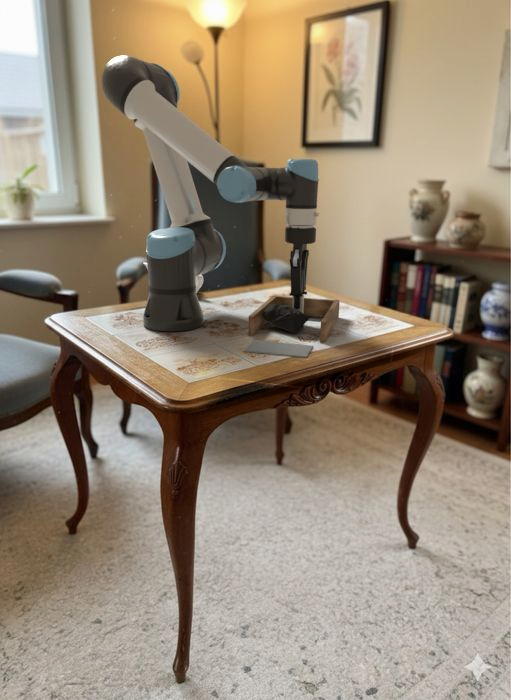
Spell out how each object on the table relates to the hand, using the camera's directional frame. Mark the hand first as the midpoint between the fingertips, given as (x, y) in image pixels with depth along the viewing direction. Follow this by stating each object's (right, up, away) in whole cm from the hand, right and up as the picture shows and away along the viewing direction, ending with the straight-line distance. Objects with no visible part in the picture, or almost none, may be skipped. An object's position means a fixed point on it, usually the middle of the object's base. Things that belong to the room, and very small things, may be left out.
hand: (297, 320), depth 138 cm
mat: (-6, -7, -19) cm, 21 cm away
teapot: (-37, +9, +32) cm, 49 cm away
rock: (-2, -4, -9) cm, 10 cm away
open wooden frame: (0, -2, -1) cm, 2 cm away
